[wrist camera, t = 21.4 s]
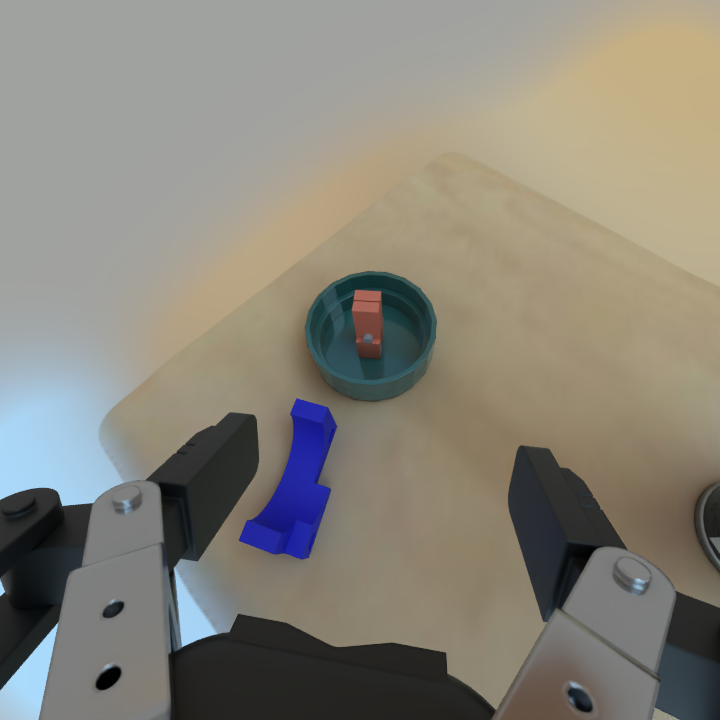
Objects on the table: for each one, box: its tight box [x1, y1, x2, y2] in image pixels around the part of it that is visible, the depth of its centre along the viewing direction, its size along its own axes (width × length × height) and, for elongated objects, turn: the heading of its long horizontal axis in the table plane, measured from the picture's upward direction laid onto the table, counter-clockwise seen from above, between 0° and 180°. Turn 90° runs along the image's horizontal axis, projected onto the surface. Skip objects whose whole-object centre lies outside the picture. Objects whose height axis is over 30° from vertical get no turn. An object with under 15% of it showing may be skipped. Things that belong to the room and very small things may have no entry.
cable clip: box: [239, 398, 337, 559], centre depth 33 cm, size 12×4×6 cm, turn 162°
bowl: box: [305, 271, 437, 401], centre depth 40 cm, size 13×13×5 cm
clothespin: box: [352, 290, 384, 359], centre depth 38 cm, size 2×3×8 cm
